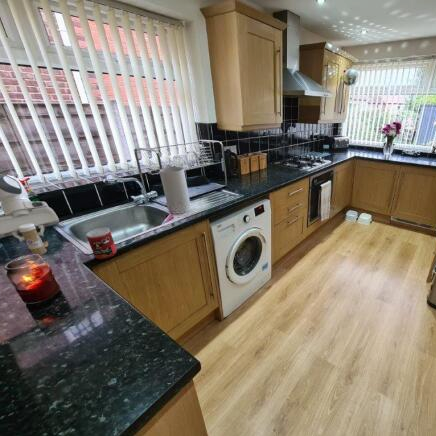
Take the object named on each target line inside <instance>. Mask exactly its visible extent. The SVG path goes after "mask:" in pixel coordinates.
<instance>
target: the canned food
mask: <svg viewBox="0 0 436 436" xmlns="http://www.w3.org/2000/svg"><path fill="white" fill-rule="evenodd" d="M85 237H86V238H87V241H88V244H89V246H90V248H91V251H92V254H93V256H94V257H95V258H96V259H97V260H106V259H109V258H111V257H113V256H115V255H116V254H117V247H116V244H115V242H114V238H113V236H112V233H111V230H110V228H109V227H99V228H94V229H92V230H90V231H88V232H86V234H85Z"/></svg>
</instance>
